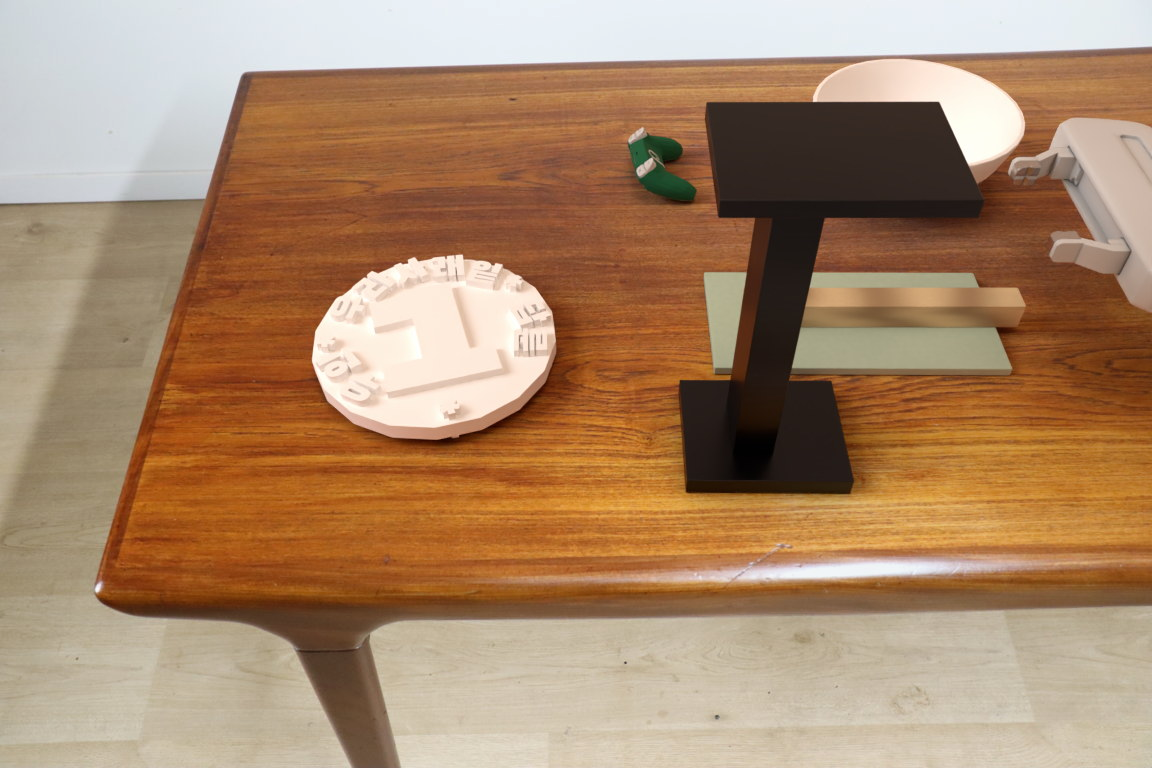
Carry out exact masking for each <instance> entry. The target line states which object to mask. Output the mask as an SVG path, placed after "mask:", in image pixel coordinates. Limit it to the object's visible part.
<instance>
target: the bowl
mask: <svg viewBox="0 0 1152 768" xmlns="http://www.w3.org/2000/svg"><path fill="white" fill-rule="evenodd" d="M812 102H940V104H941V106H942V109H943V111H944V113H945V115H946V117H947V120H948V122H949V124H950V126H951V128H952V130H953V133H954V135H955V137H956V139H957V141H958V143H959V146H960V148H961V150H962V152H963V154H964V156H965V159H966V161H967V163H968V165H969V167H970V170H971V172H972V174H973V176H974V178H975V180H976V183H977V185H978V186H979V184H981V183H982V182H984V181H985V180H987V178H989V177H990V176H991V175H992V174H993V173H995V172H996V171H997V170H998V169H999V168H1000V167H1001V165H1002V164H1003V163H1004V162H1005V161H1006V160H1007V159H1008V158H1009V157H1010V156H1011V154H1012V153H1013V152H1014V151H1015V150H1016V149H1017V148H1018V146H1019V145H1020V143H1021V141H1022V140H1023V138H1024V137H1025V130H1026V120H1025V117H1024V114H1023V111H1022V110H1021V107H1020V105H1018V103H1017V102H1016V101H1015V99H1013V98H1012V97H1011V95H1010V94H1008V92H1007V91H1005V90H1004V89H1002V88H1001V87H999V86H998V85H996V84H995V83H993V82H992V81H990V80H987V79H986V78H984V77H982V76H981V75H978V74H975V73H973V72H970V71H968V70H965V69H962V68H959V67H955V66H952V65H948V64H945V63H939V62H934V61H929V60H923V59H911V58H910V59H909V58H882V59H873V60H865V61H861V62H858V63H854V64H850V65H847V66H845V67H842V68H840V69H837V70H836V71H834V72H833V73H830V75H828V76H826V77H825V78H824V79H823V80H822V81H821V82H820V83H819V85H818V86H817V87H816V89H815V91H814V93H813V96H812Z"/></svg>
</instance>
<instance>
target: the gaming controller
mask: <svg viewBox="0 0 1152 768" xmlns="http://www.w3.org/2000/svg"><path fill="white" fill-rule="evenodd" d="M627 148H628V150H629V154H630V158H631V162H632V165H633V169H634V173H635V176H636V178H637V180H638V182H639V183H640V185H642V187H643V188H644V189H645V190H646V191H647V192H651V193H652V194H654V195H657V196H660V197H662V198H665V199H670V200H675V201H679V202H680V201H681V202H694V201H695V198H696V194H697V190H698V189H697V188H696V187H695V185H693V184H692V183H691V182H689V181H688V180H686V179H684V178H682V177H680V176H678V175H676V174H674V173H672V172H669V171H667V170H666V166H665V163H664V162H665V161H674V160H678V159H679V158H680V157H681V156H682V155H683V153H684V147H683V146H682V145H681V143H679V141H677V140H676V139H673V138H671V137H667V136H661V135H651V134H649V132H647V131H646V130H645V127H643V126H642V127H640V128H639V129H637V130H636V131H635V132H634V133H632V134H631V135H630V136H629V138H628V140H627Z"/></svg>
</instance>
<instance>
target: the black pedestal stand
mask: <svg viewBox="0 0 1152 768" xmlns="http://www.w3.org/2000/svg"><path fill="white" fill-rule="evenodd" d="M704 123H705V131H706V139H707V145H708V154H709V161H710V168H711V175H712V176H711V177H712V181H713V191H714V198H715V204H716V205H715V206H716V213H717V217H718V218H719V219H754V222H753V228H752V229H753V230H752V236H751V243H750V248H749V255H748V262H747V268H746V272H747V274H746V281H745V287H744V294H743V300H742V307H741V313H740V320H739V326H738V333H737V339H736V346H735V353H734V359H733V366H732V372H731V374H730V379H679V381H678V382H679V383H678V391H677V393H678V406H679V419H680V430H681V431H680V433H681V446H682V462H683V473H684V475H683V477H684V487H685V493H692V494H693V493H695V494H696V493H699V494H700V493H701V494H705V493H707V494H708V493H709V494H710V493H711V494H715V493H716V494H721V493H722V494H823V495H824V494H826V495H828V494H829V495H831V494H834V495H835V494H836V495H846V494H847V495H850V494H851V493H852V489H853V486H854V483H855V479H854V475H853V469H852V465H851V461H850V457H849V452H848V447H847V444H846V439H845V435H844V431H843V425H842V421H841V417H840V412H839V408H838V404H837V399H836V395H835V391H834V385H833V381H832V380H791V375H792V374H791V370H792V366H793V361H794V357H795V352H796V347H797V343H798V338H799V334H800V329H801V325H802V320H803V315H804V311H805V306H806V302H807V297H808V293H809V288H810V283H811V279H812V274H813V273H814V271H815V270H814V269H815V264H816V261H817V256H818V253H819V252H818V251H819V246H820V242H821V238H822V233H823V228H824V223H825V220H826V219H979V218H980V215H981V212H982V209H983V206H984V203H985V202H986V201H985V198H984V196H983V194H982V191H981V189H980V187H979V184H978V185H977V183H976V180H975V178H974V176H973V174H972V172H971V170H970V167H969V165H968V163H967V161H966V159H965V156H964V154H963V152H962V150H961V148H960V146H959V143H958V141H957V139H956V137H955V135H954V133H953V130H952V128H951V126H950V124H949V122H948V120H947V117H946V115H945V113H944V111H943V109H942V106H941V104H940V102H813V101H706V103H705V112H704Z"/></svg>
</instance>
